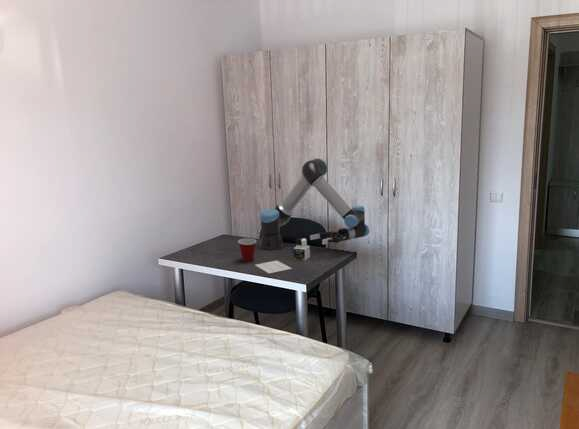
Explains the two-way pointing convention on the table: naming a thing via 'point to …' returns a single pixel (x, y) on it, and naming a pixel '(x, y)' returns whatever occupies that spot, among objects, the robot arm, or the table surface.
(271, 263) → the paper
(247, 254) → the plastic cup
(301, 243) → the white blocky tower
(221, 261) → the table surface
